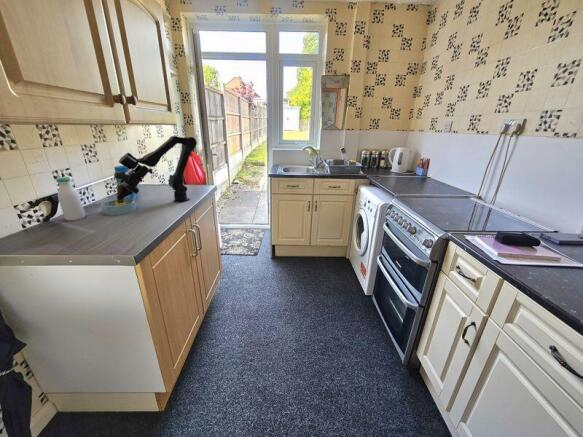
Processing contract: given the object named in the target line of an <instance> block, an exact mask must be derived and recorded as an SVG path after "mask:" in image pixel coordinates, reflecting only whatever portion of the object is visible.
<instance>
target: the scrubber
mask: <svg viewBox="0 0 583 437" xmlns="http://www.w3.org/2000/svg"><path fill="white" fill-rule="evenodd" d="M122 186H123V185H117V184H116V199H117V198H118V196H119V195H120V193H121V191H122ZM125 204H126V203H125V202H124V198H122V199H120V200H119V199H117V202H115V206H121V205H125Z"/></svg>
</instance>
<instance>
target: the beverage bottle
mask: <svg viewBox="0 0 583 437" xmlns="http://www.w3.org/2000/svg"><path fill="white" fill-rule="evenodd" d="M115 171H118V172H121V171H122V172H125V174H129V173H130V172H129V171H130V170H129V169H128V168H126V167H125V166H123V165H118V166H117V165H116V166H114V172H115ZM114 179H115V180H116V182H115V184H116V186H117V185H120V183H121V182H119V180H120V179H117V178H115V177H114ZM121 184H122V183H121ZM136 198H137V195H136V194H135V193H133V194H131V195H128V196H126V197H124V199H133V200H136Z"/></svg>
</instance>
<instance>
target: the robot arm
mask: <svg viewBox="0 0 583 437" xmlns="http://www.w3.org/2000/svg"><path fill="white" fill-rule="evenodd" d="M177 144H180V145H181V153H180V156H179V158H178V161H177V165H176V168H175V171H174V173H173V174H169V176H168V179H167V183H168V186H169V187H170V189H171V188H172V190H173V193H174V194H173V197H174V199H173V202H177V203H184V202H187V201H189V200H190V198H188V194H187V191H188V187H187V186H186V185H185V184H184V174H185V171H186V168H187V164H188V161H189V158H190V156H191V154H192V152H193V151H194V150H195V148H196V147H197V144H198V141H197V139H196V138H195V137H193V136H184V137H181V136H176V135H171V136H170V137H169V138H168V139H167V140H166V141H165V142H163V143H162V144H161V145H160V146H159V147H157V148H156V149H155V150H153V151H150V152H148V153H146V154H145V155H143V156H142V157H139V158H136V157H135V156H134V155H133V154H132V153H130V152H126V153H125V154H124V155H122V156H121V157H120V159H119V160H118V163H119V164H120V165H121V166H125V167H126V168H128V169H129V171H130V170H132V172H128V173H129V174H125V172H122V171H121V172H118V171H115V170H114V175H113V178H114V179H115V178H117V179H120V180H119V182H121V183H122V184H121V183H120V185H123V186H122V191H121V193H120V195H119V196H118V198H117V197H116V199H119V200H120V199H122V198H124V197H126V196H128V195H131V194H133V193H135V195H138V193H139V192H140V191H139V187H138V185H139V184H140V183H142V182H143V179H144V178H145V177H146V176H147V174H148V173H149V174H150V175H153V173H154V172H153V168H154V167H156V166H157V165H158V164H159V162H160V160H161V158H162V157H163V156H164V155H165V154H167V153H168V152H169V151H170V150H171V149H173V148H174V147H175V146H176V145H177ZM149 167H150V168H149Z"/></svg>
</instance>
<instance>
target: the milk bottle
mask: <svg viewBox="0 0 583 437" xmlns="http://www.w3.org/2000/svg"><path fill="white" fill-rule="evenodd" d="M56 182H57V184H58V190H57V199H58V202H59V205H60V209H61V211H62V214H63V218H64V220H65V221H76V220H80V219H84V218H85V217H86V212H85V209H84V206H83V203H82V200H81V196H80V194H79V192H78V190H76V188H74V186H73V185H72V182H71V178H70V177H67V176H64V177H63V176H62V177H57V178H56Z"/></svg>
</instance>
